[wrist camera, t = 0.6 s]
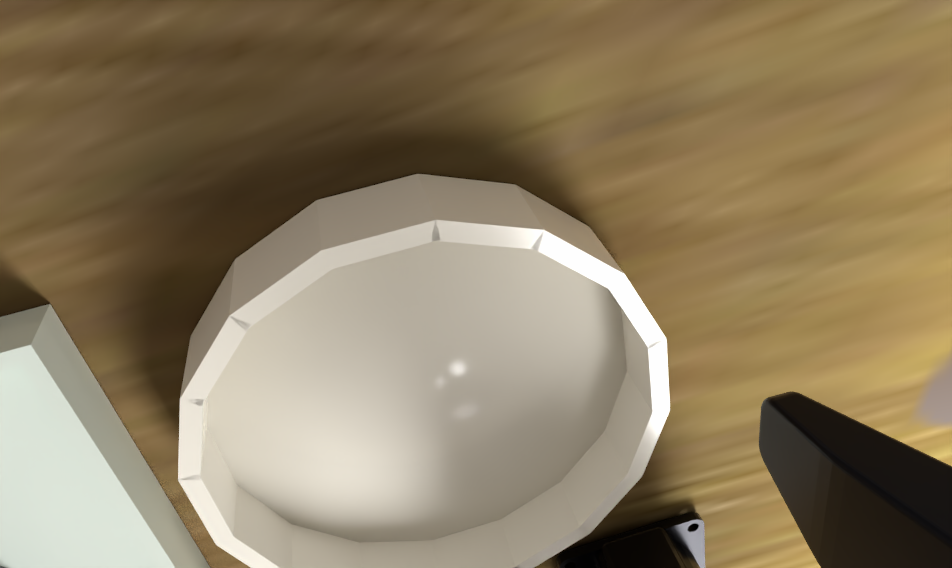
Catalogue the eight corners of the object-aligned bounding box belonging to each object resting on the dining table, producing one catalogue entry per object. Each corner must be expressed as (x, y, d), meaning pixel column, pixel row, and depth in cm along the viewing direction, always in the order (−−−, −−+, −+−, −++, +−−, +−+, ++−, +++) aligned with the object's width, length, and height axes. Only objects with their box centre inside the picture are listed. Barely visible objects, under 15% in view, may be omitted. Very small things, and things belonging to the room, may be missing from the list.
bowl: (643, 469, 31) (676, 527, 28) (278, 580, 29) (278, 651, 27) (615, 121, 22) (657, 160, 20) (104, 255, 21) (81, 314, 19)
